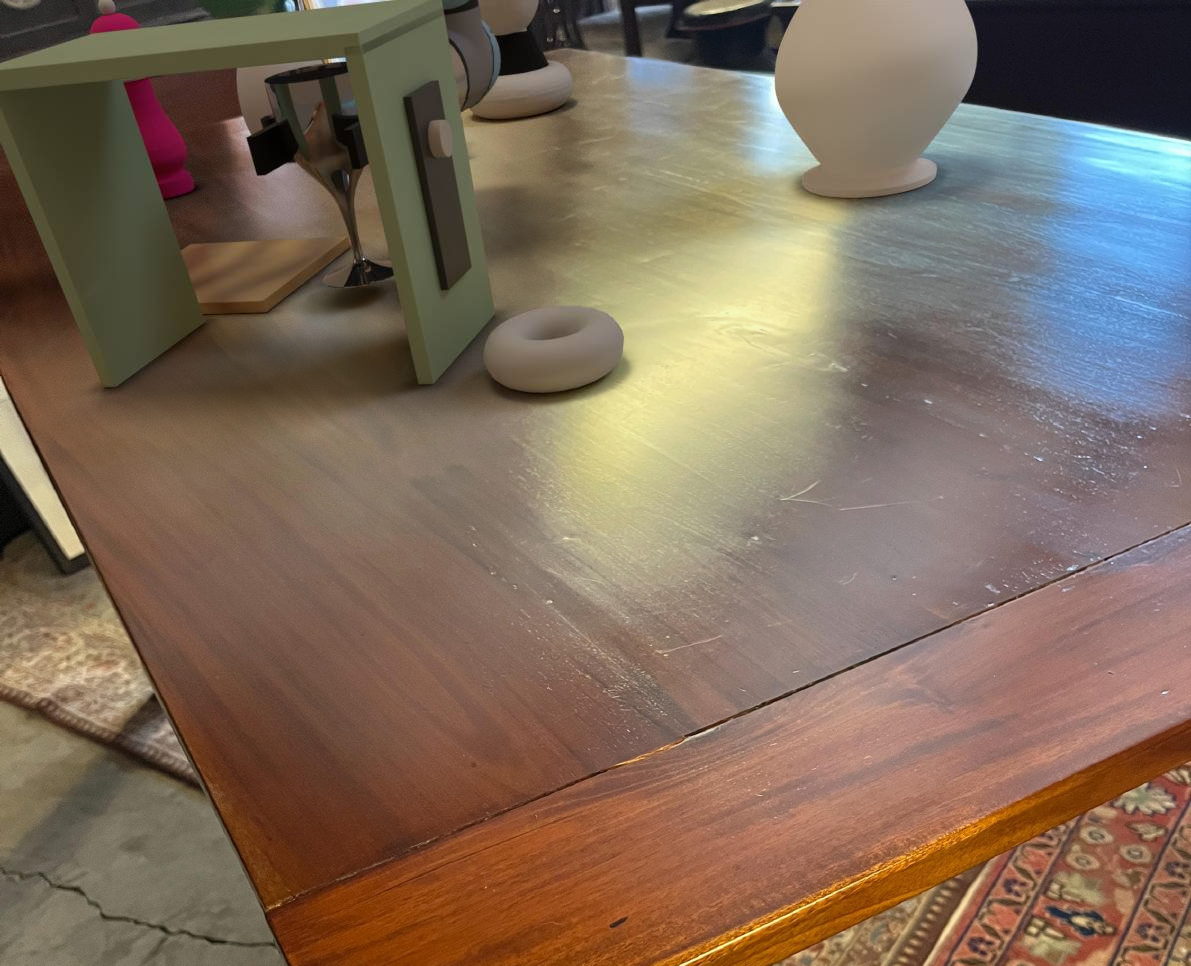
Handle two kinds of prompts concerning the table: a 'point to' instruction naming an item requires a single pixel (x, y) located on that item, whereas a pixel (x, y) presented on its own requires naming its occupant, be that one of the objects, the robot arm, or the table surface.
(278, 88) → the wine glass
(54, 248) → the cubby
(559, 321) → the donut
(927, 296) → the table surface
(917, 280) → the table surface
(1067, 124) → the table surface
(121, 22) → the pepper mill
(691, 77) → the table surface
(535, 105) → the decorative figurine
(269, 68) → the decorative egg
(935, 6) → the decorative vase
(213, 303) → the cutting board
